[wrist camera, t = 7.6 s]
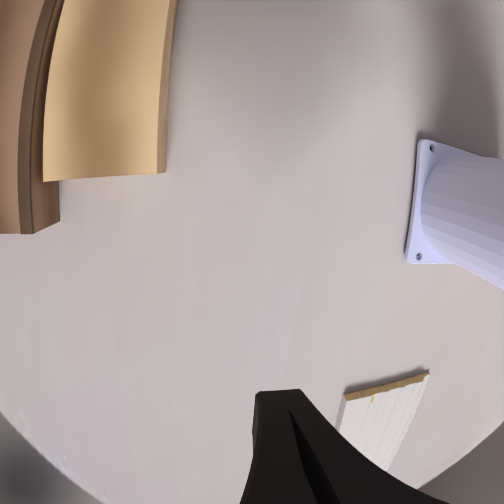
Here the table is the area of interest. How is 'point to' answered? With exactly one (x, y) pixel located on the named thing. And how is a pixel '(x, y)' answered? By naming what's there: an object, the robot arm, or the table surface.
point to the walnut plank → (25, 114)
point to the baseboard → (380, 417)
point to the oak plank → (108, 89)
